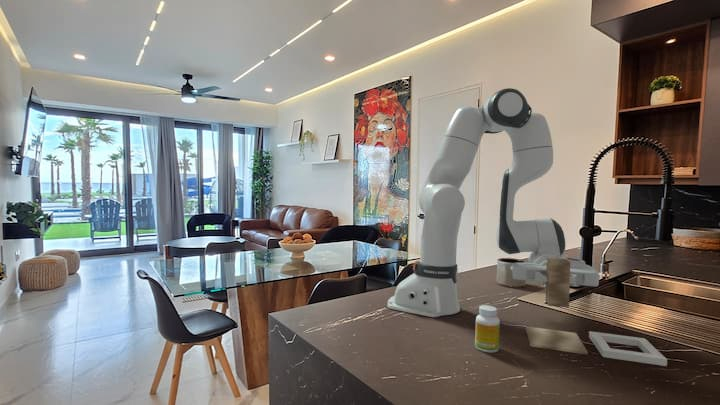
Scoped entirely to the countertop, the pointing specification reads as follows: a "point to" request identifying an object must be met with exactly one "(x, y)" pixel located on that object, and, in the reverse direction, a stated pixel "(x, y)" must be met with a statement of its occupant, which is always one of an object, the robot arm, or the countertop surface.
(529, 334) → the oak board
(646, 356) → the frame
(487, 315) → the supplement bottle
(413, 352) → the countertop surface
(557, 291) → the walnut block
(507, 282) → the planter
